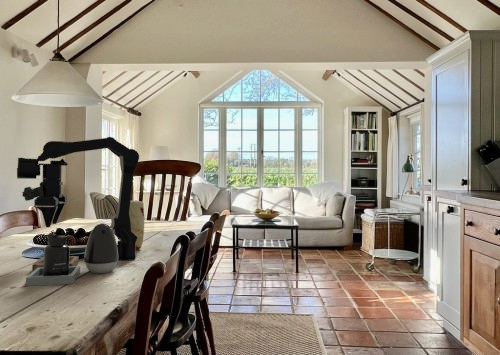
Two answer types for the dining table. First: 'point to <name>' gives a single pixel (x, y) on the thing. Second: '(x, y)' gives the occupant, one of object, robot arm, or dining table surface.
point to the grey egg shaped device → (101, 250)
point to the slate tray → (52, 277)
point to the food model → (137, 221)
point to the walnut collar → (72, 262)
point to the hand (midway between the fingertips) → (51, 225)
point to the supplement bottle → (56, 257)
